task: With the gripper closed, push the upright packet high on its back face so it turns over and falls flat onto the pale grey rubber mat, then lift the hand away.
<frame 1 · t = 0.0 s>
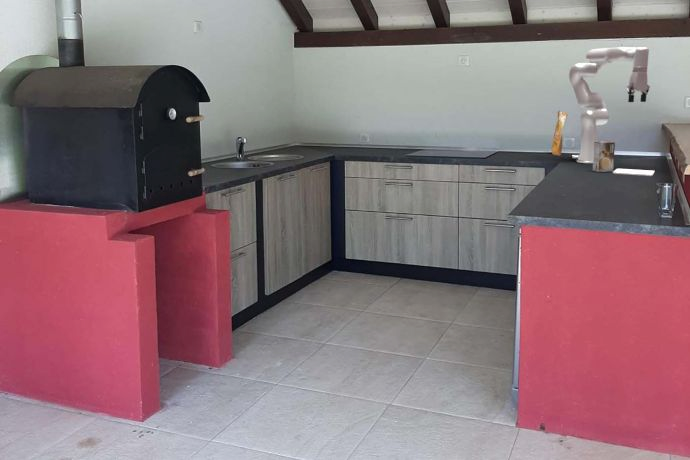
hand: (637, 102, 406), 37 cm above the counter, tool pointing down, fingers open, 9 cm apart
pancake mix bag: (557, 154, 484), on the counter
mat: (633, 172, 397), on the counter
coffee box: (602, 171, 405), on the counter
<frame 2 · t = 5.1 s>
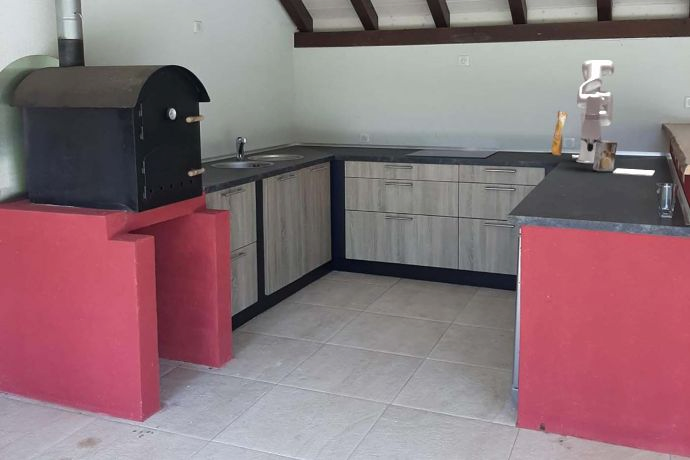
hand: (589, 151, 405), 11 cm above the counter, tool pointing down, fingers closed
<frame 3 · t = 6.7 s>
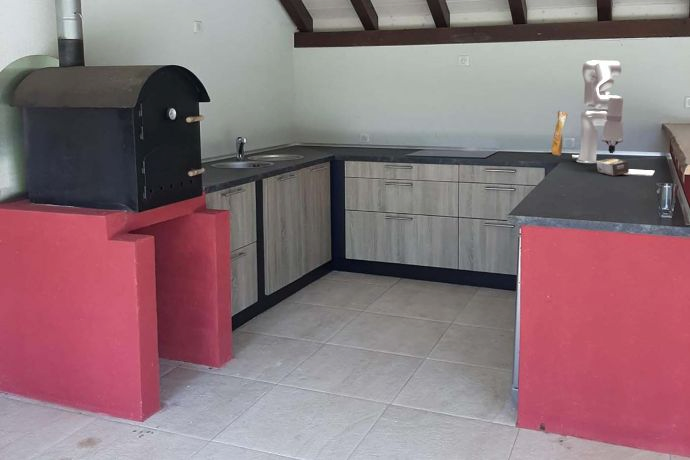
hand: (611, 153, 401), 10 cm above the counter, tool pointing down, fingers closed
coffee box: (604, 164, 401), point 4 cm above the counter, touching mat
everything else where it was.
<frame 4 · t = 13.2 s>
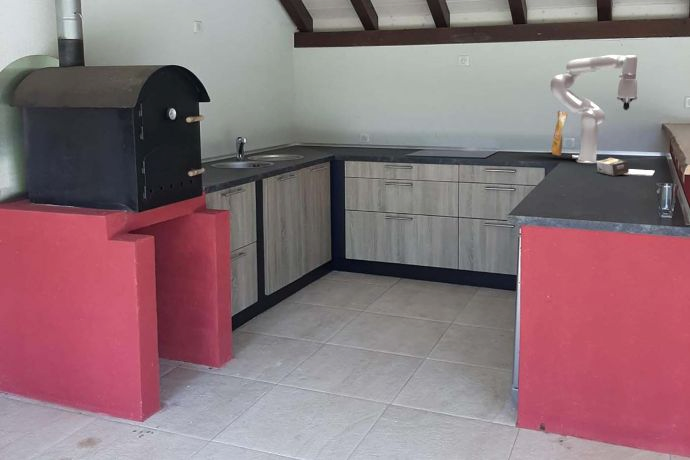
hand: (626, 109, 422), 32 cm above the counter, tool pointing down, fingers closed
nothing on the counter moved.
at the end: coffee box tilted 90°; coffee box touching mat, counter; coffee box inside the target area (10.0 cm from its centre), point 3.8 cm above the counter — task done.
